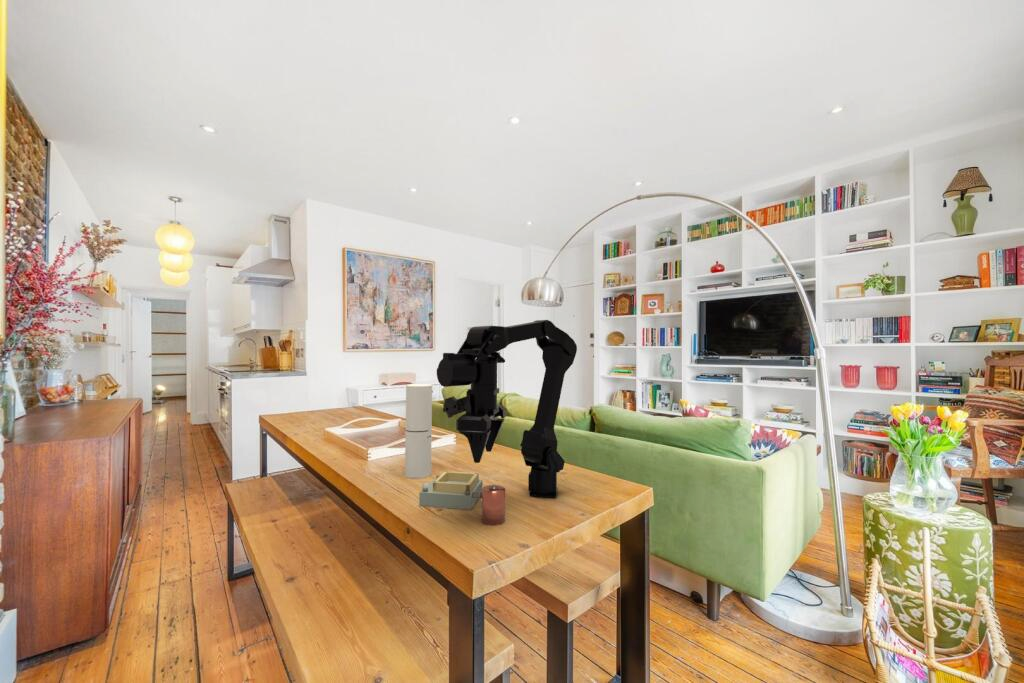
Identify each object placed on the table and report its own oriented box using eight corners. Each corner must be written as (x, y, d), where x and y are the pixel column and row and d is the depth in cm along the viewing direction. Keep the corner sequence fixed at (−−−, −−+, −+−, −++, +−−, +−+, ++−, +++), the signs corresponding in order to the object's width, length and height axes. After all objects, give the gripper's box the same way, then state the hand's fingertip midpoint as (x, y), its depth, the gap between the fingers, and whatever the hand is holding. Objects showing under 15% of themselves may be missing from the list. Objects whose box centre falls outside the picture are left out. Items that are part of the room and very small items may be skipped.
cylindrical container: (400, 474, 115) (401, 384, 116) (422, 469, 120) (423, 383, 121) (413, 480, 110) (414, 386, 110) (435, 474, 115) (437, 385, 115)
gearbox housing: (482, 492, 101) (482, 472, 102) (470, 509, 91) (471, 486, 91) (429, 488, 104) (430, 468, 104) (412, 505, 93) (412, 483, 93)
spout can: (506, 516, 87) (507, 483, 87) (502, 526, 82) (502, 491, 83) (475, 514, 88) (475, 481, 88) (469, 523, 84) (469, 489, 84)
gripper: (462, 379, 99) (461, 444, 99) (431, 387, 81) (430, 466, 81) (507, 381, 97) (506, 447, 97) (486, 388, 79) (485, 470, 79)
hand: (483, 456), depth 88 cm, fingers open, 9 cm apart
